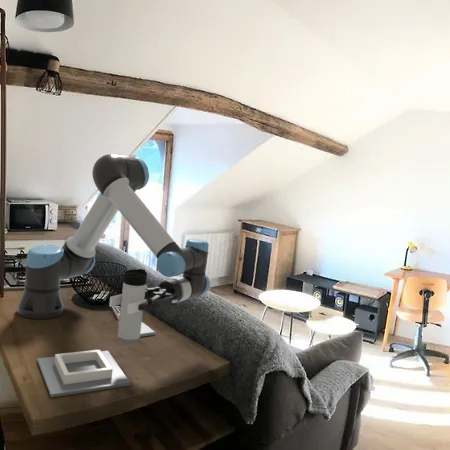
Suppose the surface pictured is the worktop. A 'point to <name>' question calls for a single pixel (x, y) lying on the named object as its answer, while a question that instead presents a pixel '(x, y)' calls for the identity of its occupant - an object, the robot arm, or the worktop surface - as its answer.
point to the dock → (81, 372)
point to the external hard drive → (145, 330)
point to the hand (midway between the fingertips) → (119, 305)
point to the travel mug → (130, 294)
